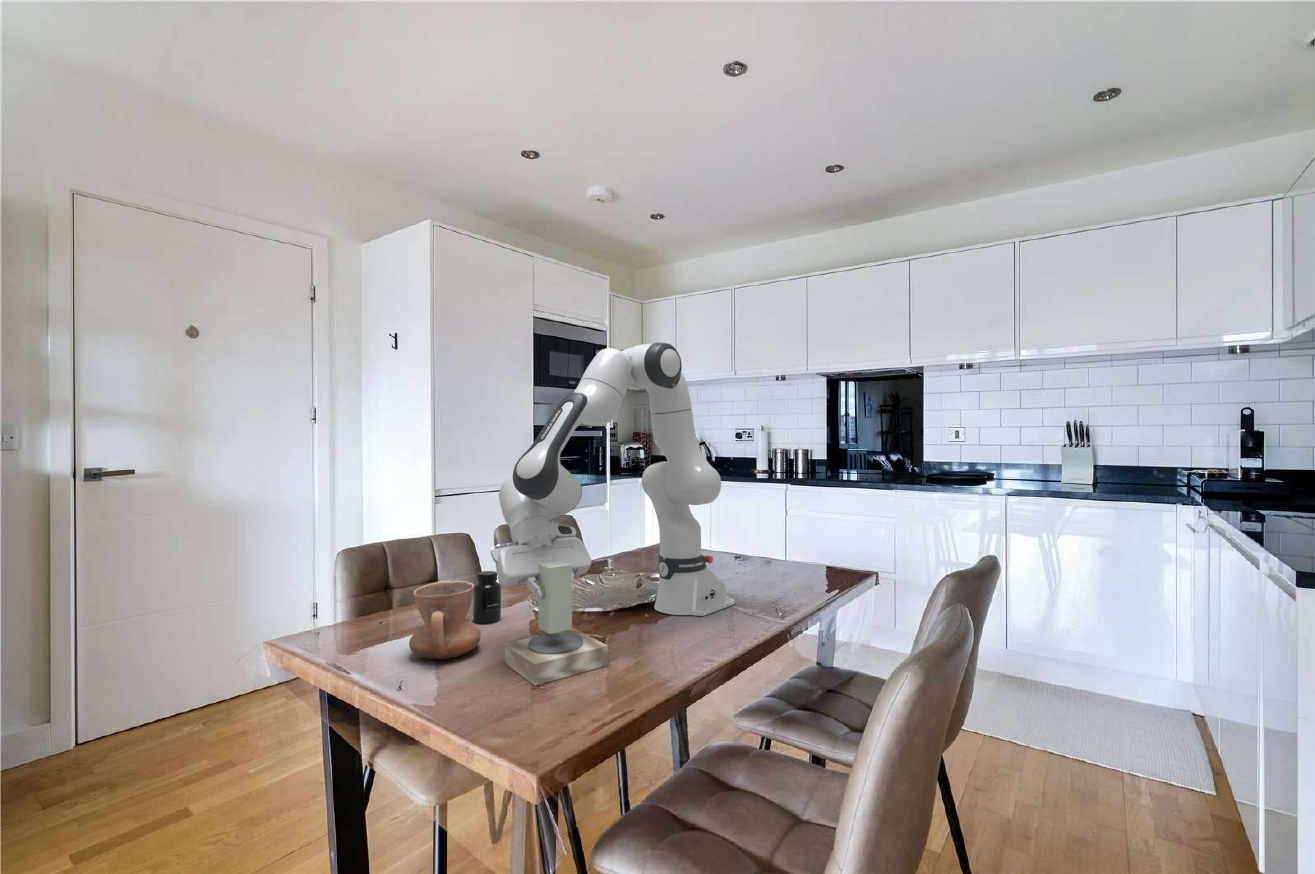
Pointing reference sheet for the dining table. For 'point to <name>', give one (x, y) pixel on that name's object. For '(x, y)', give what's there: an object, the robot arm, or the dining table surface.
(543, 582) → the sage block
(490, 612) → the supplement bottle
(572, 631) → the birch base
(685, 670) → the dining table surface
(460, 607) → the ceramic jug
